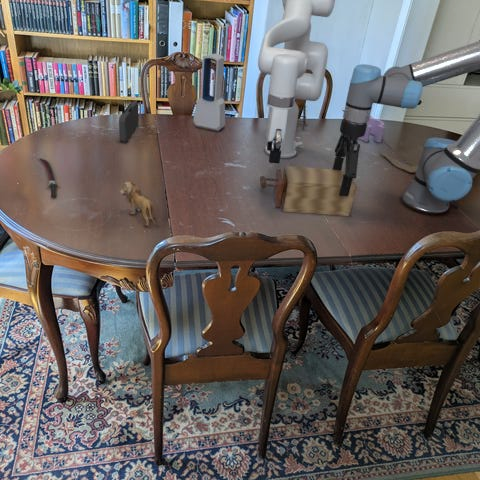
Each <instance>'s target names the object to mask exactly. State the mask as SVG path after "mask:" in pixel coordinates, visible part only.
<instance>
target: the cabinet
mask: <svg viewBox="0 0 480 480" xmlns="http://www.w3.org/2000/svg"><path fill="white" fill-rule="evenodd" d="M285 174H286V178H287V189H286V195H285V201H284V199H283V194H282V195H281V206H282V210H283V212H287V213H288V212H289V213H301V214H317V215H328V216H329V215H330V216H345V217H350V215H351V211H352V207H353V203H354V199H355V195H356V191H357V184H356V182H355V180H354V179H353V180H352V183H351V187H350V191H349V195H348V196H340V195H339V193H340V189H341V185H342V180H343V175H344V174H345V170H342V169H341V170H332V169H329V168H315V167H304V166H302V167H301V166H290V165H284V168H283V175H282V179H283V185H284V179H285ZM282 192H283V189H282Z"/></svg>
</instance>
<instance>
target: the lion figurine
mask: <svg viewBox="0 0 480 480" xmlns="http://www.w3.org/2000/svg"><path fill="white" fill-rule="evenodd" d="M119 193H120V194H121V196H122V197H124V196H125V198H126V199H127V200H128V202H129V203H130V207H131V211H130V212H129V213H130V215H135V214H136V211H137V212H141V214H142V216H143V218H144V219H145V223H144V225H145V227H149V226H150V221H152V223H153V225H155V226H159V222H156V221H155V219H154V217H153V216H154V215H153V204H152V202H151V200H150V199H148V198H146V197H145V196H144V195H143V194H142V192H141V190H140V187H138V185H136V184H135V183H133V182H132V181H125V182H124V186H122V188H121V189H119ZM136 207H137V208H136ZM148 214H149V216H148Z"/></svg>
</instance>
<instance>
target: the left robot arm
mask: <svg viewBox="0 0 480 480" xmlns="http://www.w3.org/2000/svg"><path fill="white" fill-rule="evenodd" d="M281 1H282V8H283V14H282V18H281V20H279V21H278V22H276V23H275V24H274V25H272V26H271V27H270V29H268V30H267V31H266V32H265V35H264V36H263V38H262V41H261V46H260V49H259V54H258V59H257V67H258V70H259V72H260V73H261V74H264V75H269V76H270V77H269V86H268V94H267V101H266V105H267V107H269V109H268V114H267V121H266V127H265V136H266V141H267V144H266V146H265V147H264V148H265V149H264V151H265V153H266V154H267V155H268V156H269V157H268V163H269V164H277V165H279V164H280V162H281V159H289V158H293V157H295V156H296V155H297V150H296V148H297V147H302V146H303V145H304V144H303V141H296V140H295V139H296V133H297V127H298V121H297V120H299V119H298V118H299V117H298V116H299V113H300V110H299V109H300V108H299V106H297V105H298V104H297V101H296V102H295V100H296V99H297V100H301V101H304V100H306V101H309V102H317V101H318V100H319V99H320V98H321V95H322V93H323V86H324V82H325V81H324V80H325V76H326V70H327V64H328V56H329V49H328V46H327V45H326V44H325V43H324V42H321V41H313V40H310V37H311V32H312V23H311V19H312V16H313V17H321V18H329V17H330V16H331V14H332V13H333V10H334V8H335V3H336V0H281ZM280 44H283V47H282V48H281V47H276V46H277V45H280ZM307 69H308V71H311V72H312V73H309V72H308V73H307ZM298 108H299V109H298Z"/></svg>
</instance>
